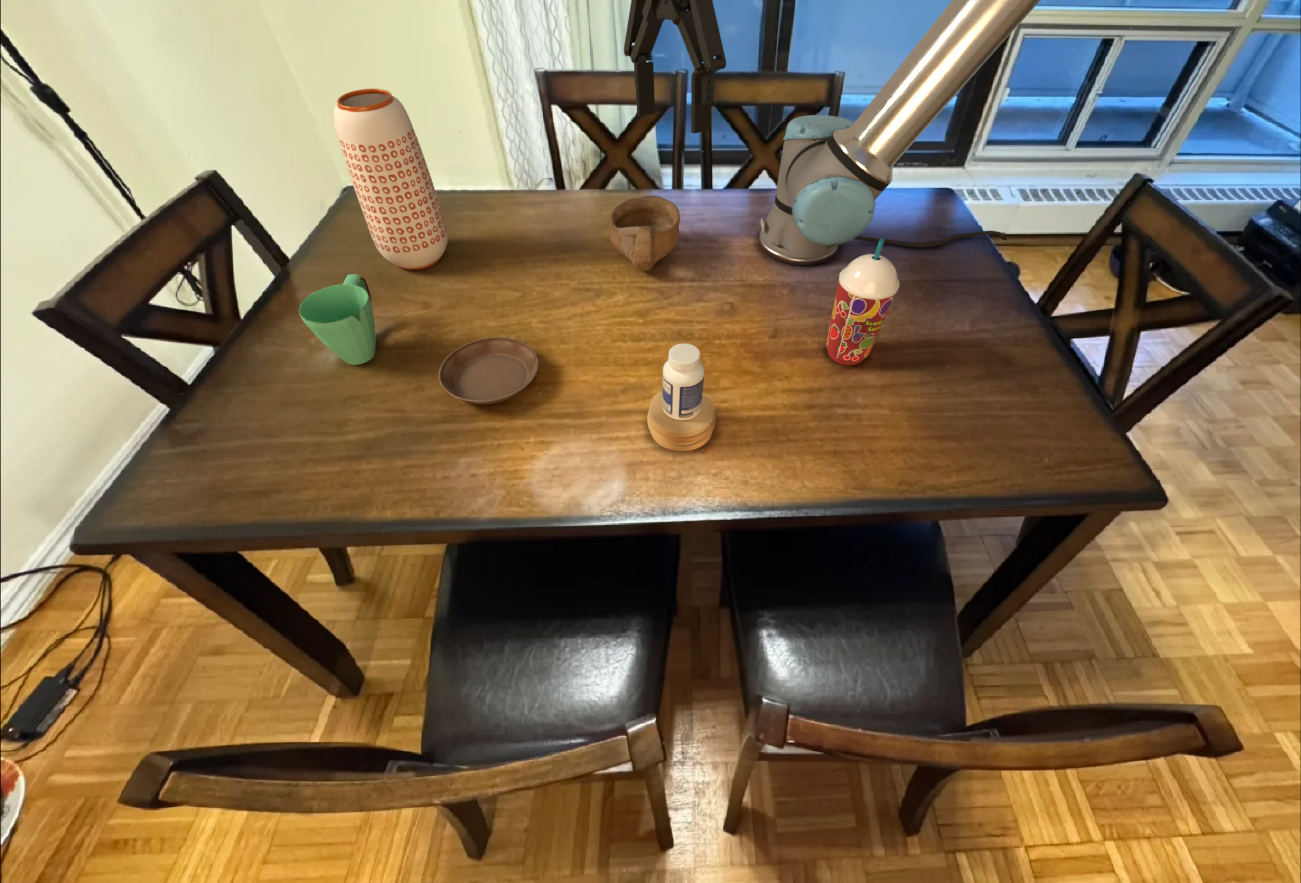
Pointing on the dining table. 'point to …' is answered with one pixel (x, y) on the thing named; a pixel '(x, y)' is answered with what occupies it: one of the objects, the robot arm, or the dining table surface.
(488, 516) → the dining table surface
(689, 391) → the pill bottle
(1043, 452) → the dining table surface
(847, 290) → the smoothie
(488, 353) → the saucer
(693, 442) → the coaster stack
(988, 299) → the dining table surface
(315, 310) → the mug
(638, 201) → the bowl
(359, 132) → the patterned vase
